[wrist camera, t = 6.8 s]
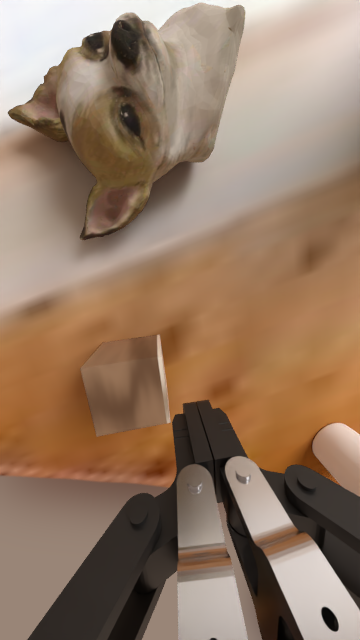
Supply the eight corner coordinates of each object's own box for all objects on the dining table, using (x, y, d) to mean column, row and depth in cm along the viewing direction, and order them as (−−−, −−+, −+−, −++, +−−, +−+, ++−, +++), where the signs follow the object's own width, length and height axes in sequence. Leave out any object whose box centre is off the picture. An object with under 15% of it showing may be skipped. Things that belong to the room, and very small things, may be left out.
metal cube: (159, 334, 20) (102, 342, 19) (161, 356, 14) (80, 368, 14) (166, 384, 21) (113, 392, 21) (170, 422, 15) (96, 436, 15)
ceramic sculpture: (297, 94, 9) (38, 230, 10) (235, 181, 18) (98, 252, 18) (213, -232, 7) (-122, -28, 7) (188, 48, 15) (31, 134, 16)
